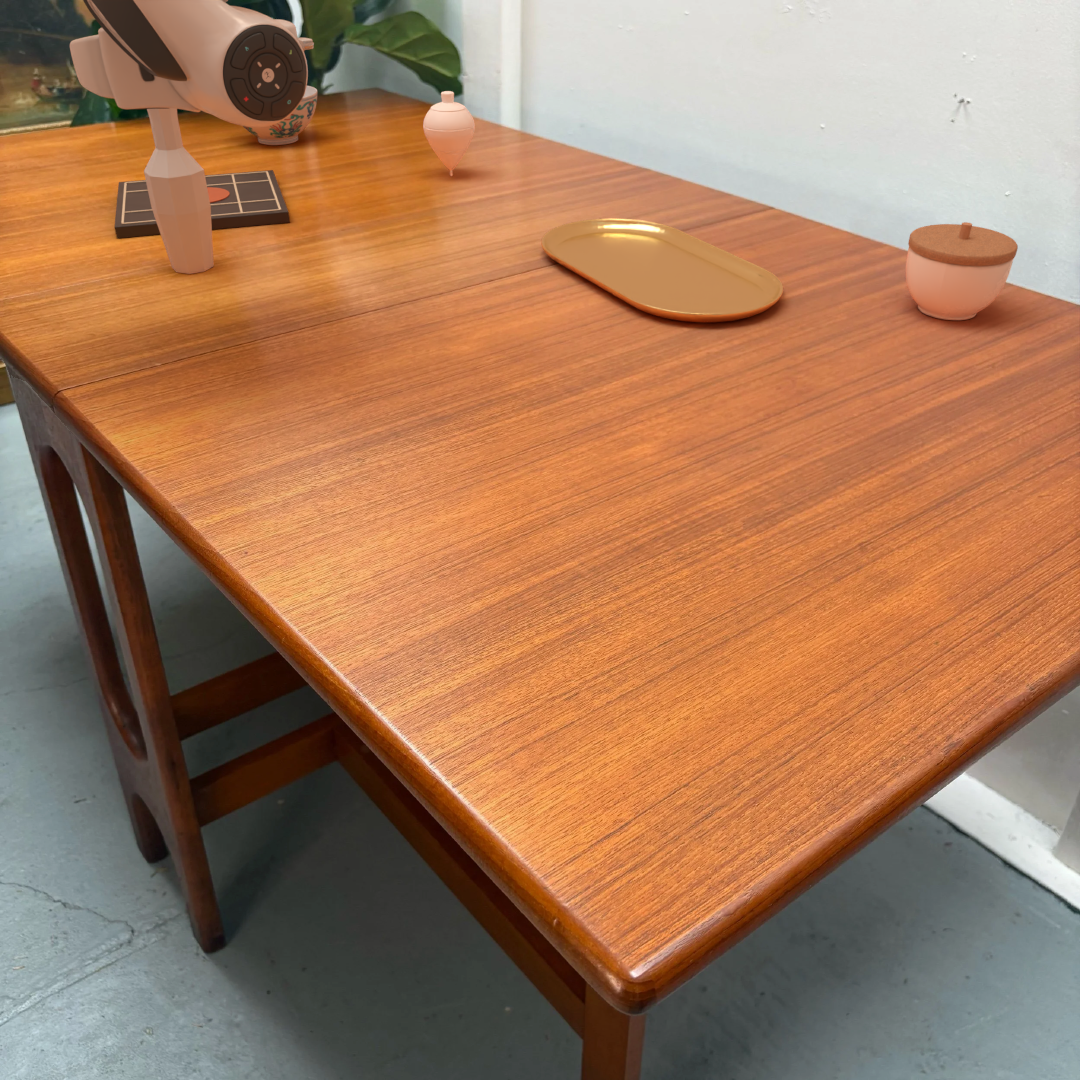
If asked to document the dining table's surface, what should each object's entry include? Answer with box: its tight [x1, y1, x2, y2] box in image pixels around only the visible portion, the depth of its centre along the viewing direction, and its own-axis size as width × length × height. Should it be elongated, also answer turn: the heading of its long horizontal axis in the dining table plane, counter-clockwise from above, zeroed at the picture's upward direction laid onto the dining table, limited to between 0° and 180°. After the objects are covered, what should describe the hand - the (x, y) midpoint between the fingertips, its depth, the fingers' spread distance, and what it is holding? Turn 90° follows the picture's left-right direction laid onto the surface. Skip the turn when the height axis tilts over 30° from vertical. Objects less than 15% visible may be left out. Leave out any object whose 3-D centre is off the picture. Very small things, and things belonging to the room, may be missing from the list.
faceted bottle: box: [143, 108, 215, 275], centre depth 116 cm, size 6×6×22 cm
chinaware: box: [242, 85, 318, 146], centre depth 172 cm, size 15×15×8 cm
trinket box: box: [904, 221, 1018, 321], centre depth 108 cm, size 11×11×9 cm
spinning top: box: [422, 90, 476, 177], centre depth 152 cm, size 8×8×12 cm
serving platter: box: [540, 217, 784, 323], centre depth 120 cm, size 19×35×2 cm, turn 30°
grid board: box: [113, 169, 291, 239], centre depth 142 cm, size 22×22×2 cm
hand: (170, 46), depth 100 cm, fingers open, 8 cm apart
